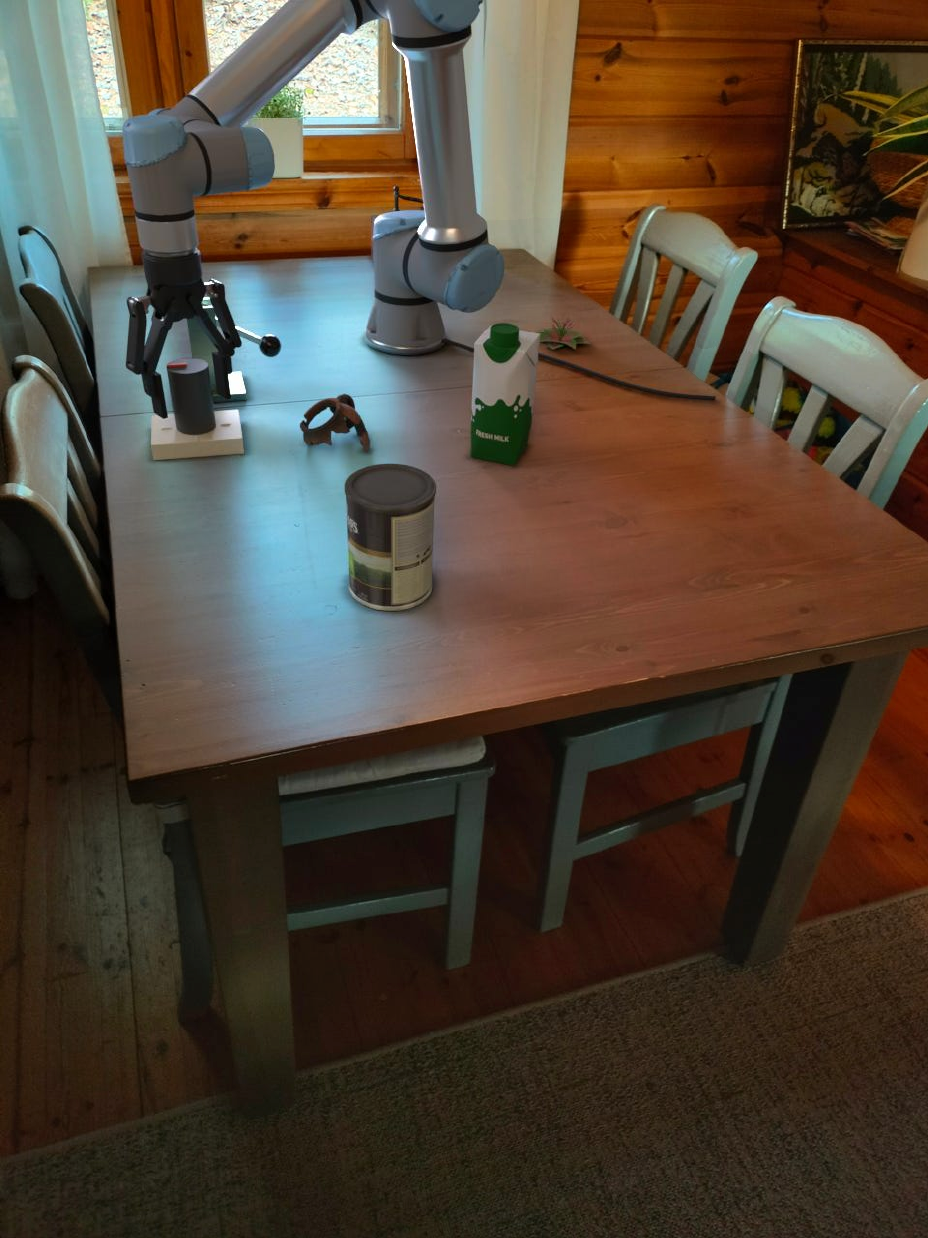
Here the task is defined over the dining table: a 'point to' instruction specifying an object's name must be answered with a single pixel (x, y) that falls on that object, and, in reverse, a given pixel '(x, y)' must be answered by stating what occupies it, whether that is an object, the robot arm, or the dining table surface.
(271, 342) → the tap lever
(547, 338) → the lily flower
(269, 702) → the dining table surface
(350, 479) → the coffee can
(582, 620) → the dining table surface
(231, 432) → the panel
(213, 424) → the tap knob
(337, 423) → the broken clay pot
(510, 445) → the milk carton
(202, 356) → the grey metal lever stand
